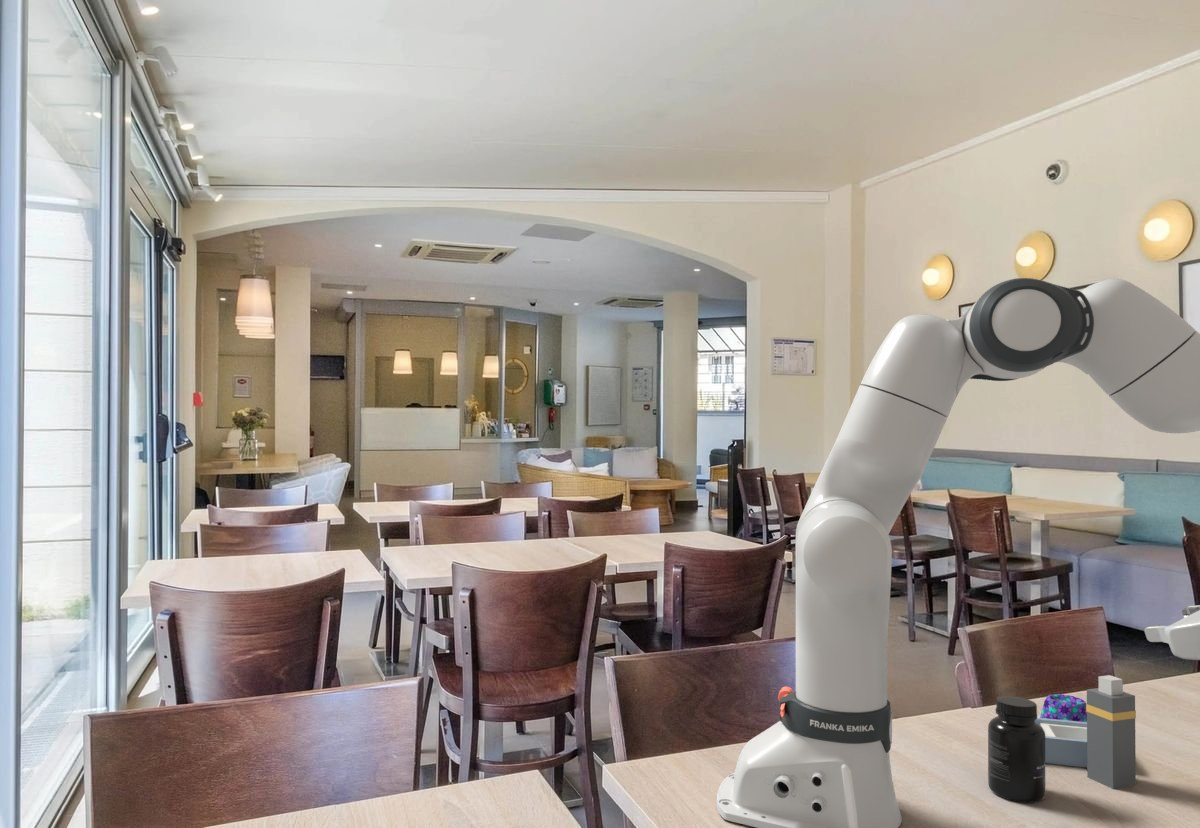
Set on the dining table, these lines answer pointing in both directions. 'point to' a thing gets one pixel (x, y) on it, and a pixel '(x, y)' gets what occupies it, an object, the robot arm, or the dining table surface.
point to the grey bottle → (1111, 734)
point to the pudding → (1064, 708)
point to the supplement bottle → (1016, 751)
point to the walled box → (1065, 742)
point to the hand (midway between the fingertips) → (1167, 623)
